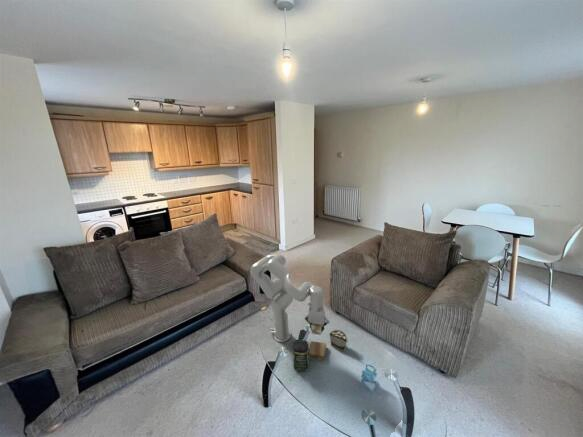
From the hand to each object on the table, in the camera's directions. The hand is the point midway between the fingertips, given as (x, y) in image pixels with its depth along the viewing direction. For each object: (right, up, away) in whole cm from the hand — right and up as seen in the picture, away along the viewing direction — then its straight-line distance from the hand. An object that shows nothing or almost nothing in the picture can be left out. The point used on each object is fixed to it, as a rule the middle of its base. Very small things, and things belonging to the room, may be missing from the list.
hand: (317, 329), depth 151 cm
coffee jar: (-10, -22, -2) cm, 24 cm away
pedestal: (+1, -19, +6) cm, 20 cm away
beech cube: (0, -1, 0) cm, 1 cm away
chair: (+27, -24, -15) cm, 39 cm away
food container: (+16, -16, +11) cm, 25 cm away
